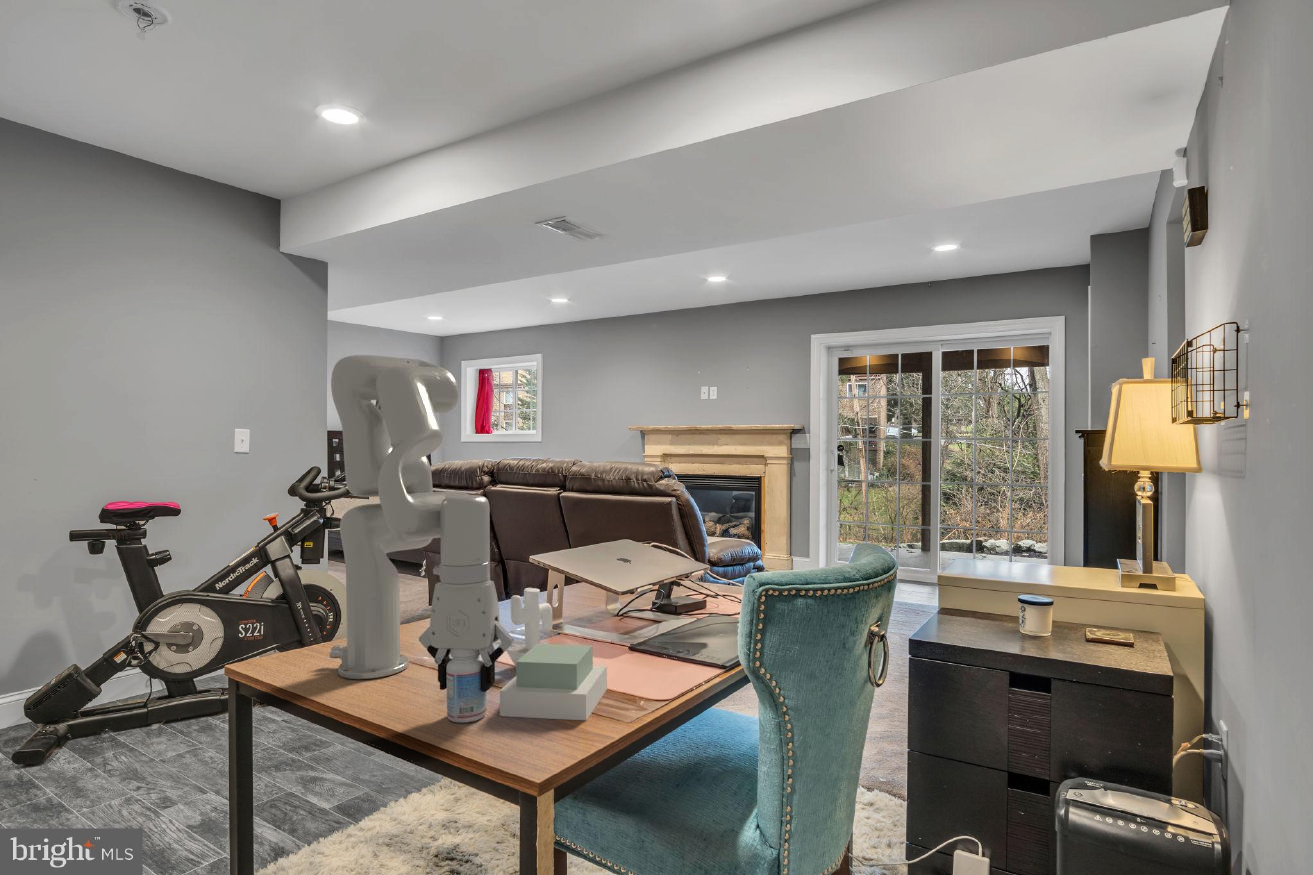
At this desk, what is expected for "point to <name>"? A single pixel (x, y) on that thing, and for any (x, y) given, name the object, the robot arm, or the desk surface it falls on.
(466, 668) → the pill bottle
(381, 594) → the robot arm
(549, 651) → the top block
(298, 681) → the desk surface
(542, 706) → the base block
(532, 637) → the figurine
